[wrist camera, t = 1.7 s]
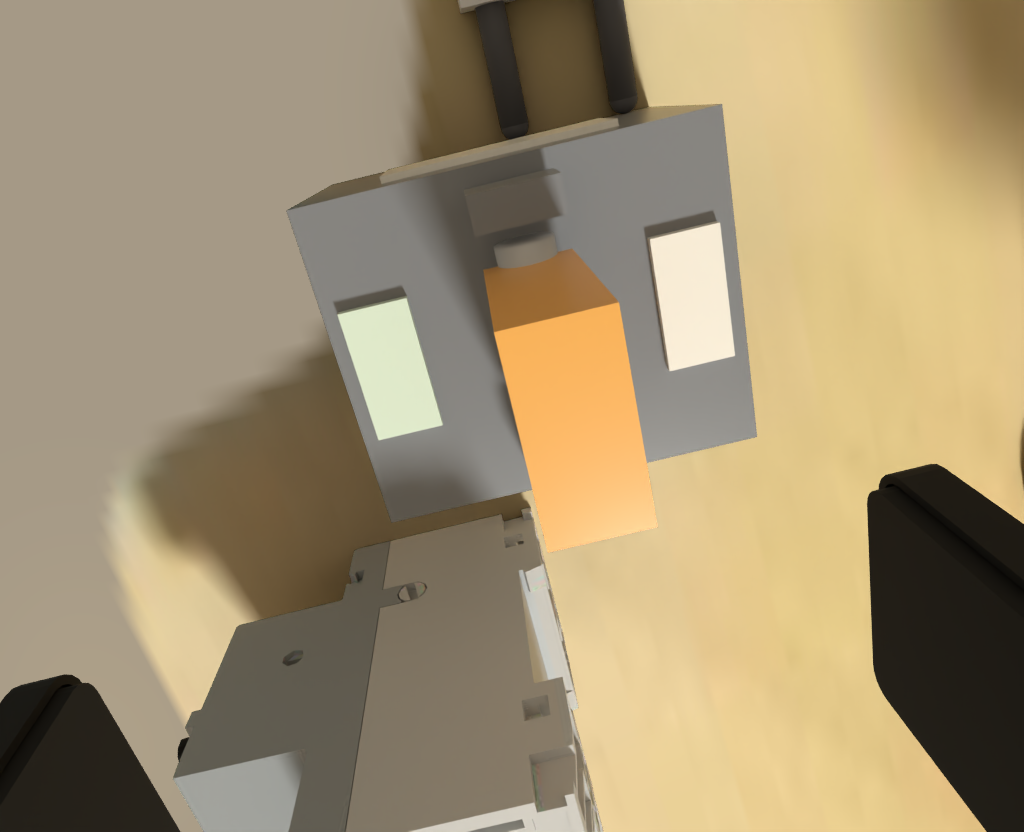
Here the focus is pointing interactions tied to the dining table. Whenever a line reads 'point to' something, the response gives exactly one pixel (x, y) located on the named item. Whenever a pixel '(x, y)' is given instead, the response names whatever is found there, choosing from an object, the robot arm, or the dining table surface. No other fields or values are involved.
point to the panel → (465, 307)
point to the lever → (569, 392)
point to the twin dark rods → (504, 66)
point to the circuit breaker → (400, 701)
